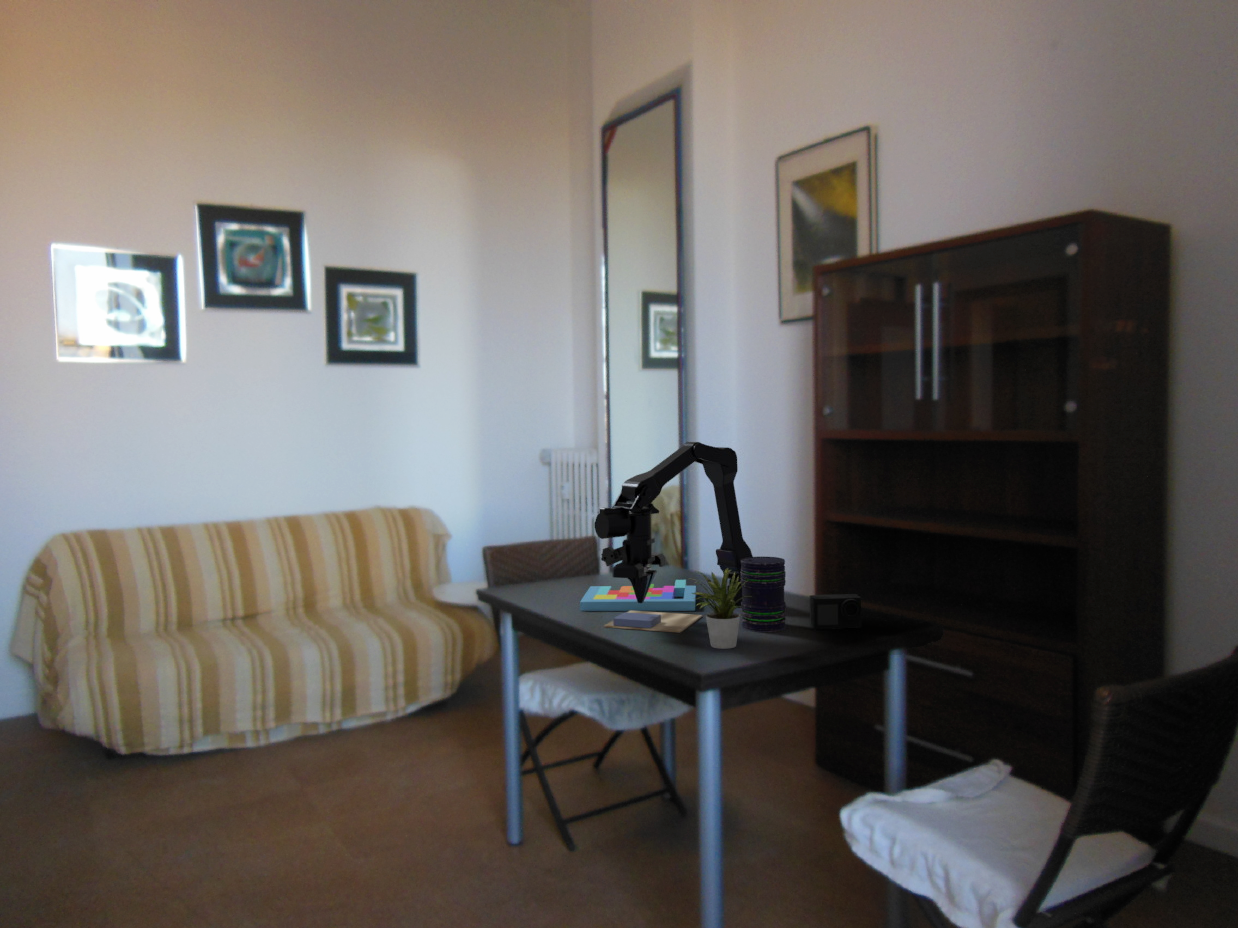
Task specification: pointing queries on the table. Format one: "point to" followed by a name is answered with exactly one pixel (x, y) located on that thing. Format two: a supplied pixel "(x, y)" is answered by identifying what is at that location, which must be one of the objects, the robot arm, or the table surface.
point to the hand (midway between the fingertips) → (640, 602)
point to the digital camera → (835, 611)
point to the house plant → (721, 611)
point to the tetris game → (626, 599)
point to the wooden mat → (664, 622)
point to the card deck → (637, 620)
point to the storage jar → (763, 594)
